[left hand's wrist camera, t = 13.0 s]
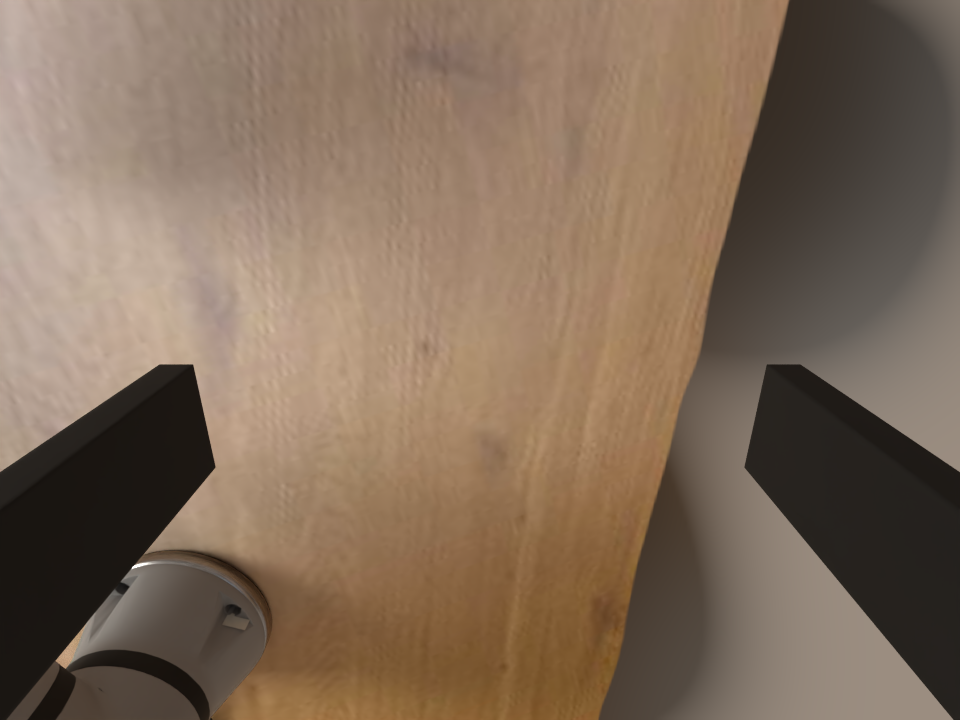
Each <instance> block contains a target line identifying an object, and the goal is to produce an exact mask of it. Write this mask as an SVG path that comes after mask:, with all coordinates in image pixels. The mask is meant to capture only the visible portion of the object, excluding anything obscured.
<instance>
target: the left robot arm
mask: <svg viewBox="0 0 960 720" xmlns="http://www.w3.org/2000/svg"><path fill="white" fill-rule="evenodd" d="M214 469H215V463H214V458H213V453H212V449H211V444H210V440H209V435H208V431H207V426H206V421H205V417H204V412H203V408H202V403H201V398H200V394H199V389H198V385H197V380H196V376H195V371H194V366H193V365H158V366H157V367H155V368H154V369H152V370H151V371H149V372H148V373H146V374H145V375H143V376H142V377H140V378H139V379H138V380H136V381H135V382H133V383H132V384H130V385H129V386H127V387H126V388H124V389H123V390H121V391H120V392H118V393H117V394H115V395H114V396H112V397H111V398H109V399H108V400H106V401H105V402H103V403H102V404H100V405H99V406H98V407H96V408H95V409H93V410H92V411H90V412H89V413H87V414H86V415H84V416H83V417H81V418H80V419H78V420H77V421H75V422H74V423H72V424H71V425H69V426H68V427H66V428H65V429H63V430H62V431H61V432H59V433H58V434H56V435H55V436H53V437H52V438H50V439H49V440H47V441H46V442H44V443H43V444H41V445H40V446H38V447H37V448H35V449H34V450H32V451H31V452H29V453H28V454H26V455H25V456H24V457H22V458H21V459H19V460H18V461H16V462H15V463H13V464H12V465H10V466H9V467H7V468H6V469H4V470H3V471H1V472H0V720H212V718H211V716H212V715H213V714H214V713H215V712H216V711H217V710H218V708H219V707H220V706H221V705H222V704H223V703H224V702H225V700H226V699H227V698H228V697H229V696H230V695H231V694H232V692H233V691H234V690H235V689H236V688H237V687H238V686H239V684H240V683H241V682H242V681H243V680H244V679H245V678H246V676H247V675H248V674H249V673H250V672H251V671H252V669H253V668H254V667H255V665H256V664H257V662H258V661H259V660H260V658H261V656H262V654H263V652H264V649H265V647H266V645H267V642H268V640H269V637H270V634H271V628H272V619H271V613H270V610H269V607H268V604H267V602H266V600H265V598H264V597H263V595H262V594H261V592H260V591H259V589H258V588H257V587H256V586H255V585H254V584H253V583H252V582H251V581H250V580H249V579H248V578H247V577H246V576H244V575H243V574H242V573H240V572H239V571H237V570H236V569H234V568H233V567H231V566H229V565H228V564H225V563H223V562H221V561H219V560H217V559H214V558H211V557H208V556H205V555H201V554H197V553H192V552H186V551H159V552H153V553H149V554H145V555H143V554H144V553H145V552H146V551H147V549H148V548H149V547H150V546H151V545H152V543H153V542H154V541H155V540H156V539H157V537H158V536H159V535H160V534H161V533H162V531H163V530H164V529H165V528H166V527H167V525H168V524H169V523H170V522H171V520H172V519H173V518H174V517H175V516H176V514H177V513H178V512H179V511H180V510H181V508H182V507H183V506H184V505H185V504H186V502H187V501H188V500H189V499H190V498H191V496H192V495H193V494H194V493H195V492H196V490H197V489H198V488H199V487H200V485H201V484H202V483H203V482H204V481H205V479H206V478H207V477H208V476H209V475H210V473H211V472H212V471H213V470H214ZM745 469H746V470H747V471H748V472H749V473H750V474H751V476H752V477H753V478H754V479H755V481H756V482H757V483H758V484H759V485H760V487H761V488H762V489H763V490H764V491H765V493H766V494H767V495H768V496H769V498H770V499H771V500H772V501H773V502H774V504H775V505H776V506H777V507H778V508H779V510H780V511H781V512H782V513H783V514H784V516H785V517H786V518H787V519H788V520H789V522H790V523H791V524H792V525H793V527H794V528H795V529H796V530H797V531H798V533H799V534H800V535H801V536H802V537H803V539H804V540H805V541H806V542H807V543H808V545H809V546H810V547H811V548H812V549H813V551H814V552H815V553H816V554H817V555H818V557H819V558H820V559H821V560H822V562H823V563H824V564H825V565H826V566H827V568H828V569H829V570H830V571H831V572H832V574H833V575H834V576H835V577H836V578H837V580H838V581H839V582H840V583H841V584H842V586H843V587H844V588H845V589H846V590H847V592H848V593H849V594H850V595H851V597H852V598H853V599H854V600H855V601H856V602H857V604H858V605H859V606H860V607H861V609H862V610H863V611H864V612H865V613H866V615H867V616H868V617H869V618H870V619H871V621H872V622H873V623H874V624H875V625H876V627H877V628H878V629H879V630H880V631H881V633H882V634H883V635H884V636H885V638H886V639H887V640H888V641H889V642H890V644H891V645H892V646H893V647H894V648H895V650H896V651H897V652H898V653H899V654H900V656H901V657H902V658H903V659H904V660H905V662H906V663H907V664H908V665H909V666H910V668H911V669H912V670H913V671H914V673H915V674H916V675H917V676H918V677H919V679H920V680H921V681H922V682H923V683H924V684H925V686H926V687H927V688H928V689H929V691H930V692H931V693H932V694H933V695H934V697H935V698H936V699H937V700H938V702H939V703H940V704H941V705H942V706H943V708H944V709H945V710H946V711H947V712H948V714H949V715H950V716H951V717H952V718H953V720H960V472H959V471H957V470H956V469H954V468H953V467H951V466H950V465H948V464H947V463H945V462H944V461H942V460H941V459H939V458H938V457H936V456H935V455H933V454H932V453H931V452H929V451H928V450H926V449H925V448H923V447H922V446H920V445H919V444H917V443H916V442H914V441H913V440H911V439H910V438H908V437H907V436H905V435H904V434H902V433H901V432H899V431H898V430H896V429H895V428H894V427H892V426H891V425H889V424H888V423H886V422H885V421H883V420H882V419H880V418H879V417H877V416H876V415H874V414H873V413H871V412H870V411H868V410H867V409H865V408H864V407H862V406H861V405H859V404H858V403H857V402H855V401H854V400H852V399H851V398H849V397H848V396H846V395H845V394H843V393H842V392H840V391H839V390H837V389H836V388H834V387H833V386H831V385H830V384H828V383H827V382H825V381H824V380H822V379H821V378H820V377H818V376H817V375H815V374H814V373H812V372H811V371H809V370H808V369H806V368H805V367H803V366H802V365H767V366H766V371H765V376H764V380H763V385H762V389H761V394H760V398H759V403H758V408H757V412H756V417H755V421H754V426H753V431H752V435H751V440H750V444H749V449H748V453H747V458H746V463H745ZM85 624H86V626H85V629H84V631H83V634H82V636H81V639H80V641H79V644H78V646H77V649H76V651H75V654H74V657H73V659H72V661H71V663H70V664H69V665H68V667H67V668H66V669H65V668H63V667H62V666H61V665H60V664H58V663H57V662H56V661H55V660H56V659H57V658H58V657H59V656H60V654H61V653H62V652H63V651H64V650H65V648H66V647H67V646H68V645H69V644H70V642H71V641H72V640H73V639H74V638H75V636H76V635H77V634H78V633H79V632H80V630H81V629H82V628H83V627H84V625H85Z"/></svg>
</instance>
